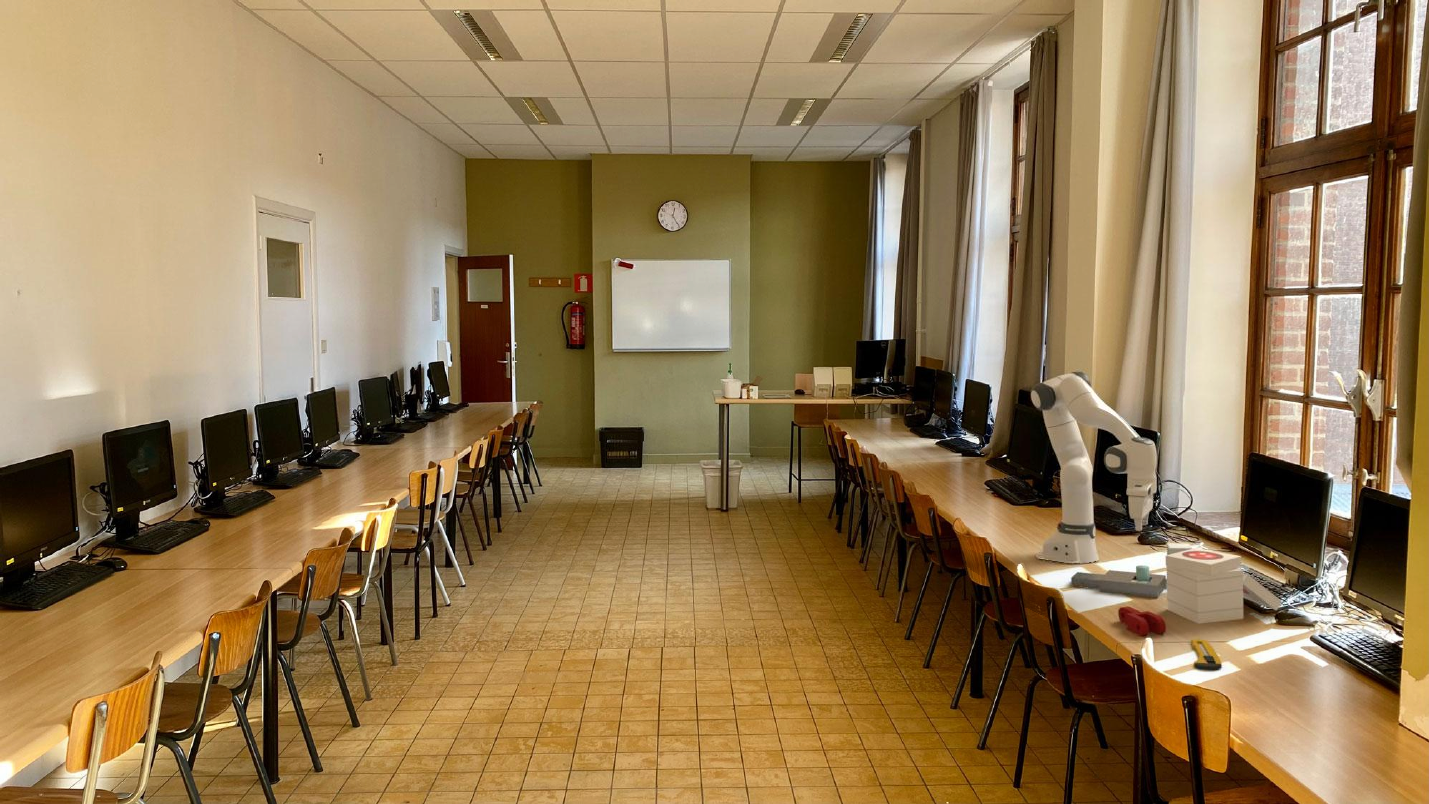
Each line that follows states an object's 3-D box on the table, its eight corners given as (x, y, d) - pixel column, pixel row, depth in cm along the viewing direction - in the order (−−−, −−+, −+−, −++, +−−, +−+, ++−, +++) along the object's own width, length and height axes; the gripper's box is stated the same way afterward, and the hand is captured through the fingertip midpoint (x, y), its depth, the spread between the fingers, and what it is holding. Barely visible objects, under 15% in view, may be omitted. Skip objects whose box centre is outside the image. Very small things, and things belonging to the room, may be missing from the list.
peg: (1135, 591, 317) (1134, 567, 316) (1137, 588, 320) (1137, 565, 320) (1148, 592, 315) (1147, 568, 314) (1150, 589, 318) (1150, 566, 317)
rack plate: (1069, 588, 324) (1068, 576, 324) (1079, 578, 336) (1079, 566, 335) (1157, 597, 308) (1157, 585, 308) (1165, 587, 320) (1165, 574, 319)
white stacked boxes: (1287, 616, 284) (1286, 557, 282) (1195, 626, 279) (1194, 566, 278) (1242, 598, 302) (1242, 543, 301) (1156, 608, 298) (1155, 551, 297)
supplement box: (1190, 579, 328) (1190, 543, 327) (1193, 584, 321) (1193, 548, 320) (1167, 578, 330) (1166, 542, 329) (1169, 584, 323) (1169, 547, 322)
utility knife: (1196, 671, 246) (1196, 664, 246) (1181, 643, 267) (1180, 636, 267) (1225, 672, 244) (1225, 665, 244) (1207, 643, 265) (1207, 637, 265)
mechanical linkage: (1166, 635, 273) (1165, 618, 273) (1143, 638, 272) (1143, 621, 272) (1132, 619, 289) (1132, 603, 288) (1111, 622, 288) (1110, 606, 287)
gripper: (1137, 480, 325) (1137, 520, 326) (1125, 490, 308) (1125, 532, 310) (1157, 482, 322) (1157, 522, 323) (1146, 492, 305) (1145, 534, 306)
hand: (1141, 527), depth 316 cm, fingers open, 8 cm apart
